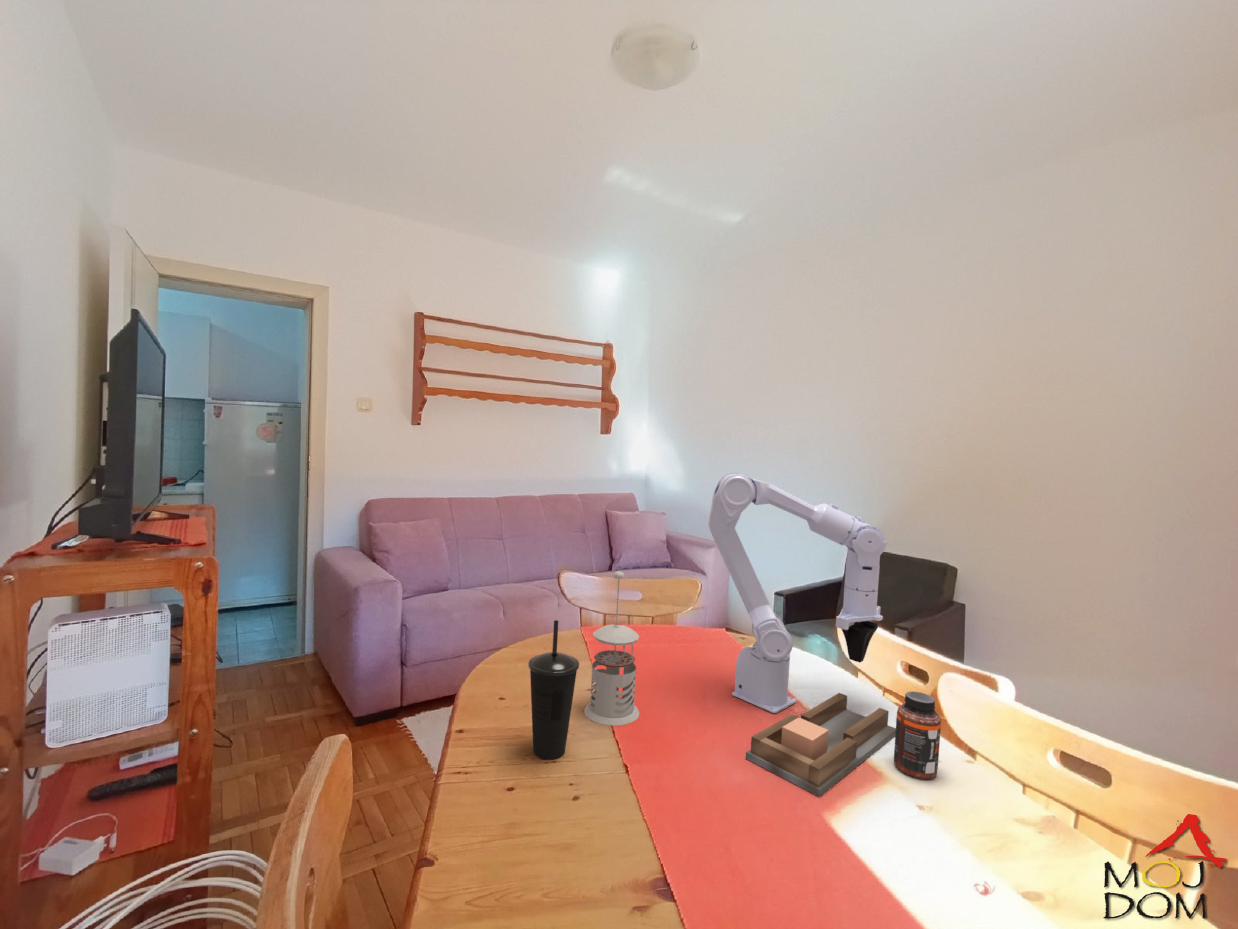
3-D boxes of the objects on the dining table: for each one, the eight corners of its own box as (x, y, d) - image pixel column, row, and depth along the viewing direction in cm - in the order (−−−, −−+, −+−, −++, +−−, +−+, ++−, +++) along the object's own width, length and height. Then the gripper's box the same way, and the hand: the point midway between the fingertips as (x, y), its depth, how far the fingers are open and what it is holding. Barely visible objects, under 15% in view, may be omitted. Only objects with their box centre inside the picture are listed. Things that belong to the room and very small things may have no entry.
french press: (574, 717, 96) (581, 572, 95) (601, 691, 107) (608, 561, 106) (627, 731, 92) (635, 581, 91) (650, 702, 103) (657, 568, 102)
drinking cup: (583, 746, 87) (590, 619, 86) (557, 771, 80) (565, 632, 79) (541, 733, 90) (548, 610, 89) (513, 755, 83) (520, 623, 82)
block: (780, 752, 86) (782, 727, 86) (797, 742, 89) (798, 717, 89) (810, 767, 82) (812, 740, 82) (826, 755, 86) (828, 730, 86)
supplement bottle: (943, 784, 82) (949, 708, 81) (899, 777, 83) (904, 702, 82) (929, 762, 88) (934, 691, 87) (888, 756, 89) (893, 685, 88)
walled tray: (745, 758, 86) (746, 736, 86) (829, 708, 104) (831, 689, 104) (819, 797, 77) (820, 772, 77) (896, 734, 96) (898, 714, 96)
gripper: (866, 598, 96) (860, 676, 96) (898, 587, 106) (893, 658, 106) (826, 589, 101) (821, 663, 101) (861, 579, 111) (856, 647, 111)
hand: (856, 660), depth 104 cm, fingers closed
